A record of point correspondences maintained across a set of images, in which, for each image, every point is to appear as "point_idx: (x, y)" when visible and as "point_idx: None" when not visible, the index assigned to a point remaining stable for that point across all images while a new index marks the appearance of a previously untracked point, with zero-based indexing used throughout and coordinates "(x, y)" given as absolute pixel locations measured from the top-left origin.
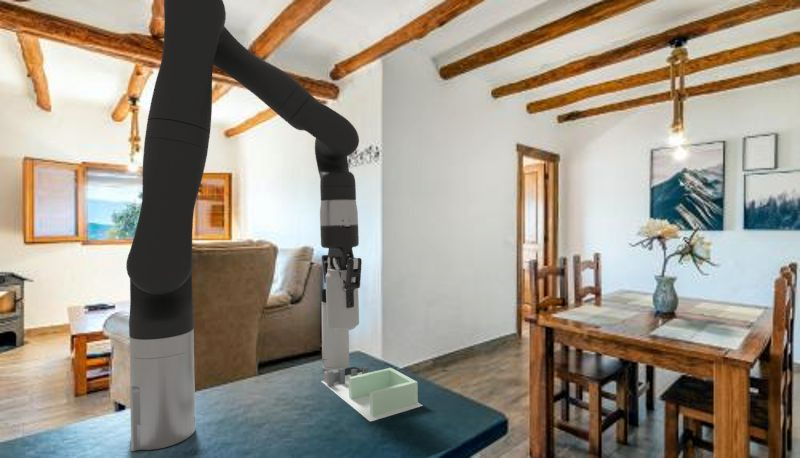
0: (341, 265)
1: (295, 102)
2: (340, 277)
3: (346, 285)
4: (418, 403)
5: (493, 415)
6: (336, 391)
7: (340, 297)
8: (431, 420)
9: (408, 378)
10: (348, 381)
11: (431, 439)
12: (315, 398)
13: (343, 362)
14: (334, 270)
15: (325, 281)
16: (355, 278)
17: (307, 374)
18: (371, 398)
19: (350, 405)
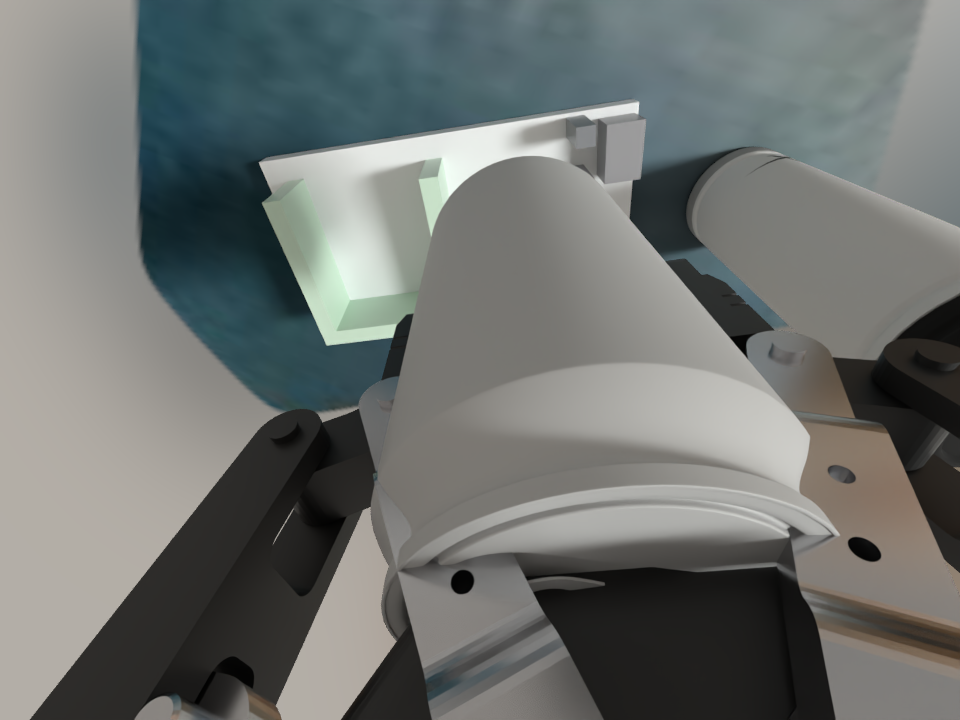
0: (394, 695)
1: None
2: (377, 480)
3: (282, 435)
4: None
5: (283, 408)
6: (512, 131)
7: (414, 321)
8: (284, 308)
9: (360, 336)
10: None
11: (193, 271)
12: (543, 45)
13: (702, 228)
14: (479, 539)
15: (917, 352)
16: (328, 558)
17: (793, 77)
18: (276, 195)
19: (383, 142)
